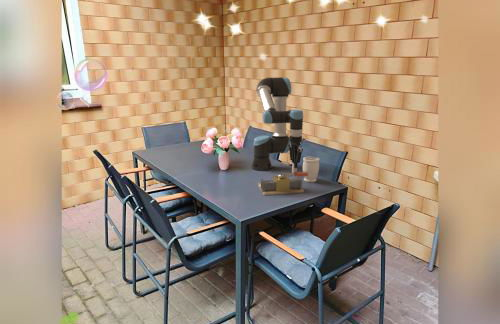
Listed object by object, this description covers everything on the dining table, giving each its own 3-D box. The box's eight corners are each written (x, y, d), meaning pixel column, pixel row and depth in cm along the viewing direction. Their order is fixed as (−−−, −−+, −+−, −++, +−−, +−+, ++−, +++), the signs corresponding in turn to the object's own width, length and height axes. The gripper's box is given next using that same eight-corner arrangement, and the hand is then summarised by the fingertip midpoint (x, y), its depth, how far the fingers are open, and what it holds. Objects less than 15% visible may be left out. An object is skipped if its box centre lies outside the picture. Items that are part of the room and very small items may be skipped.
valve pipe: (260, 189, 216) (260, 176, 214) (297, 186, 221) (298, 174, 218) (263, 194, 209) (263, 181, 207) (301, 191, 213) (302, 178, 211)
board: (257, 184, 225) (257, 182, 225) (295, 182, 229) (295, 180, 229) (263, 195, 208) (263, 193, 208) (304, 192, 212) (304, 190, 212)
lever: (278, 178, 210) (279, 174, 210) (277, 176, 214) (278, 172, 213) (308, 177, 212) (308, 173, 211) (306, 175, 215) (306, 171, 215)
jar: (306, 183, 227) (307, 161, 223) (299, 178, 236) (300, 157, 232) (321, 182, 230) (322, 160, 225) (314, 177, 239) (315, 155, 235)
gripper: (285, 134, 217) (283, 170, 224) (296, 138, 205) (294, 176, 212) (295, 132, 220) (294, 168, 227) (307, 137, 208) (305, 174, 215)
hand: (294, 172), depth 219 cm, fingers closed
